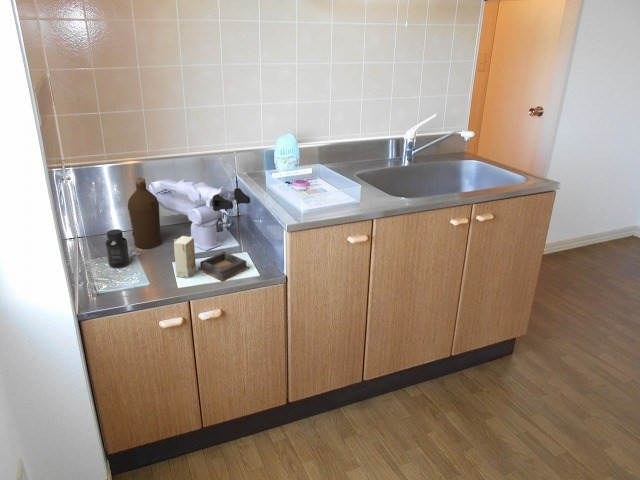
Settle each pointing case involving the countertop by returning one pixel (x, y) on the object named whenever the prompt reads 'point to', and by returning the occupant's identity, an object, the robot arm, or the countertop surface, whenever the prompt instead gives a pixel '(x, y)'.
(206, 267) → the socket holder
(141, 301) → the countertop surface
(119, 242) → the supplement bottle
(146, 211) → the olive oil
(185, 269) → the skincare box
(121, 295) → the countertop surface
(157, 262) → the countertop surface
